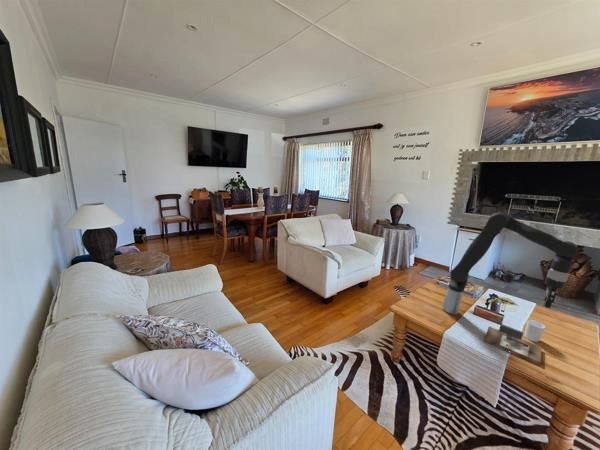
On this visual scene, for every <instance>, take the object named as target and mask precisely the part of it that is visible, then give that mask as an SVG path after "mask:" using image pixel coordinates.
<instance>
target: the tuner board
mask: <svg viewBox="0 0 600 450" xmlns="http://www.w3.org/2000/svg"><path fill="white" fill-rule="evenodd" d="M506 336H507V334H505V333H503V332H500V331H499V329H497V328H495V327H491V326H488V327H487V331H486V333H485V337H484V339H483V342H484V341H485V343H487V342H488V343H487V344H489V343H490V344H489V345H491V344H492V346H494V345H495V346H494V347H496V346H497V347H496V348H498V347H499V348H498V349H500V348H502V349H501V350H503V349H505V350H507V351H510V352H511V353H510V352H509V353H510V354H512V355H514V356H515V357H519V358H521V359H524V360H526V361H528V362H530V363H533V364H535V365H538V366H541V363H542V346H540V345H537V344H534V343H532V342H530V341H527V340H524V339H522V338H521V340H520V339H518V338H515V337H513V336H512V339H514V340H517V341H519V342H522V343H524V344H527V345H529V346H525V345H523V344H520V343H518V342H515V341H513V340H507V339H506ZM505 350H504V351H505ZM507 351H506V352H507Z"/></svg>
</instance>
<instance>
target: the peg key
mask: <svg viewBox="0 0 600 450" xmlns="http://www.w3.org/2000/svg"><path fill="white" fill-rule="evenodd" d="M498 330H499V331H500V332H503V333H505V334H507V336H506V339H507V340H513V341H515V342H518V343H520V344H523V345H525V346H529V345H527V344H524V343H522V342H519V341H517V340H514V339H512V336H513V337H515V338H518V339H520V340H521V339H522V338H523V336H524V332H523V331H521V330H518V329H517V328H516V329H515V328H513V327H510V326H509V325H506V324H502V323H501V324H500V327H499V329H498Z"/></svg>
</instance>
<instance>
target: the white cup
mask: <svg viewBox="0 0 600 450" xmlns="http://www.w3.org/2000/svg"><path fill="white" fill-rule="evenodd" d="M524 329H525V330H524V333H523V336H524V337H525V338H526V339H527V340H528V341H529V340H530V341H531V342H534V343H535V342H536V343H538V342H540V340H541V338H542V336H543V334H544V331H545V330H546V325H544V324H543V323H541V322H539V321H538V320H534V319H528V320H527V322H526V325H525V328H524Z"/></svg>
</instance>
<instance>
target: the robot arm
mask: <svg viewBox="0 0 600 450" xmlns="http://www.w3.org/2000/svg"><path fill="white" fill-rule="evenodd" d="M503 229H506V230H509V231H512V232H514V233H516V234H518V235H520V236H521V237H523V238H525V239H527V240H528V241H530V242H531V243H532V242H533V243H535V244H537V245H539V246H541V247H544V248H546V249H548V250H550V251H552V252H553V253H555V254H554V259H553V260H552V262H551V265H550V268H549V270H547V275H546V277H545V280H544V284H545V285H546V286H547V287H546V291H545V297H544V301H545V304H544V307H545V308H547V309H551V307H552V304H553V303H554V302H555V299H556V297H557V294H558V292H559V291H558V290H563V289H565V288H566V287H565V286H566V283H567V281H568V279H569V276H570V271H571V269H572V267H573V266H572V265H573V261H574V257H575V256H576V255H577V254H578V251H579V250H578V245H576V244H575V243H574V242H571V241H564V240H561V239H559V238H556V237H555V235H552V234H549V233H547V232H545V231H543V230H541V229H538V228H535V227H532V226H530V225H527V224H525V223H523V222H521V221H519V220H517V219H515V218H513V217H511V216H510V215H508V214H506V213H505V212H502V211H500V212H495V213H493V214H491V215H490V216H489V217H488V220H487V221H486V223H485V225H484V227H483V228H482V230H481V231H480V233H479V234H478V235H477V236H475V238H474V239H473V240H472V241H471V243H470V244H469V246H468V247H467V248H466V250H465V252H464V254H463V256H462V257H461V259H460V261H459V262H458V263H457V264H456V265H455V267H454V268H452V270H451V271H450V273H449V276H450V278H451V279H450V281H449V283H448V286H447V291H446V296H445V298H444V301H443V305H442V310H443V311H444V312H446V313H448V314H450V315H456V316H457V315H458V314H459V313H460V308H461V305H462V302H463V301H462V300H463V296H464V292H465V289H466V286H467V282H468V280H469V274H470V271H471V270H472V268H473V267H474V266H476V265H477V264H478V262H479V261H481V260H482V258H483V257H484V256H485V254H486V253H487V252H488V250H490V248H491V246H492V244H493V241H494V240H495V238H496V237H497V236H498V235H499V234H500V233H501V231H502V230H503Z"/></svg>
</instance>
